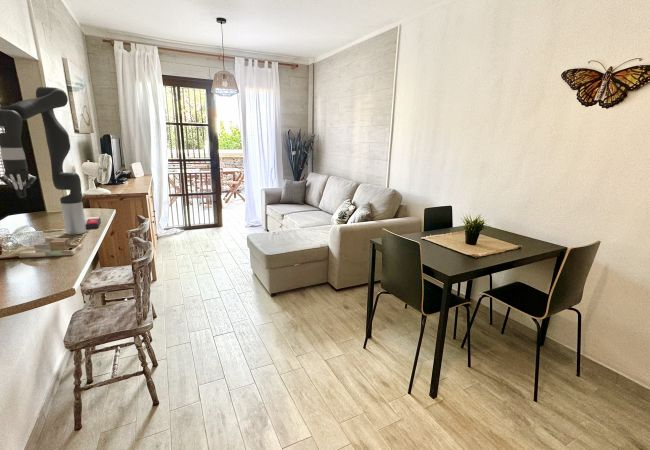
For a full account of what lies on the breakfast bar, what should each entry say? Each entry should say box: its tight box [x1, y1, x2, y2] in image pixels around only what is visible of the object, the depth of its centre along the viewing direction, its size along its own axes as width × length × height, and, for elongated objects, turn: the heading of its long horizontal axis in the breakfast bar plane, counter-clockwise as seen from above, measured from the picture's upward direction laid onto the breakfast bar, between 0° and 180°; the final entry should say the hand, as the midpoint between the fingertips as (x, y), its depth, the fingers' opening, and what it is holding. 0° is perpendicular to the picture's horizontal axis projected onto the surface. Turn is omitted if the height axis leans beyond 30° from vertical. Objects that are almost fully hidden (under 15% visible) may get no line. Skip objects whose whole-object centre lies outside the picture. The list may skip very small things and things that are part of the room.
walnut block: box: [49, 237, 71, 251], centre depth 148 cm, size 6×6×4 cm
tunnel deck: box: [17, 237, 84, 259], centre depth 148 cm, size 10×20×6 cm, turn 107°
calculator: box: [85, 216, 102, 230], centre depth 192 cm, size 11×4×15 cm
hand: (22, 197), depth 144 cm, fingers closed
